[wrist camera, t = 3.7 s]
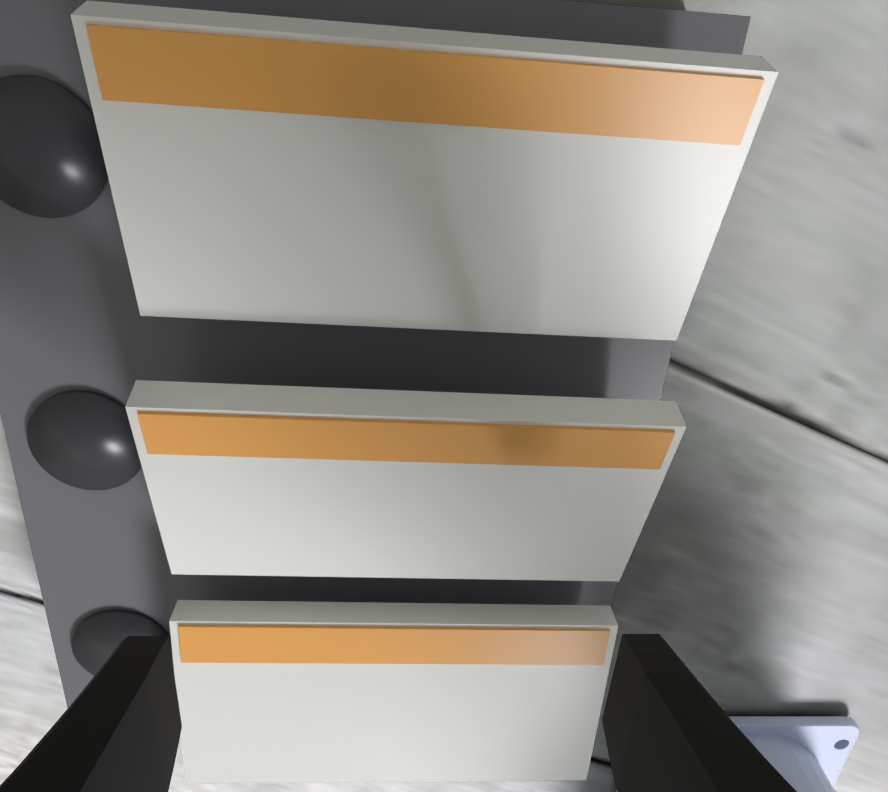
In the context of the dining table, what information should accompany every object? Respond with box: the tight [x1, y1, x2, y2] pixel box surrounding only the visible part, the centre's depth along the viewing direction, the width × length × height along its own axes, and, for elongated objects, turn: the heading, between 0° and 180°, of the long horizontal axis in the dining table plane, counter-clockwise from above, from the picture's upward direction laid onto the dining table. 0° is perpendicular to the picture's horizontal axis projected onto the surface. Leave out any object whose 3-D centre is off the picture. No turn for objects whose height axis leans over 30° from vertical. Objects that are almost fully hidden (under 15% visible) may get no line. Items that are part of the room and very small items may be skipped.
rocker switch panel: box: [0, 0, 751, 708], centre depth 17 cm, size 18×14×3 cm
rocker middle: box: [125, 380, 687, 581], centre depth 15 cm, size 5×10×1 cm, turn 86°
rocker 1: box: [71, 0, 778, 341], centre depth 12 cm, size 5×10×1 cm, turn 86°
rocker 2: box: [169, 600, 618, 784], centre depth 18 cm, size 5×10×1 cm, turn 86°
